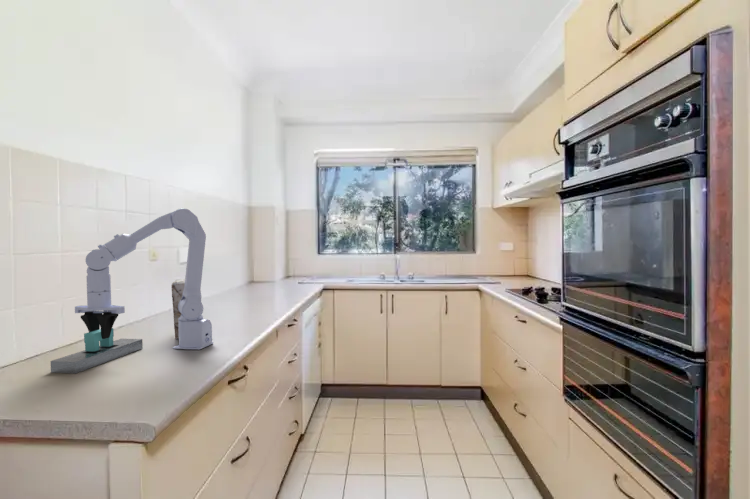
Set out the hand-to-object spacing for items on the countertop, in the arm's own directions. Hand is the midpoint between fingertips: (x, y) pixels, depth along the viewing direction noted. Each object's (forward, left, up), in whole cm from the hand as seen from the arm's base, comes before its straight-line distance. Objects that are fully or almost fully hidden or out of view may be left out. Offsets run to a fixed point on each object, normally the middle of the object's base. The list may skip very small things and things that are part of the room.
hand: (100, 338), depth 116 cm
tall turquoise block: (0, 0, -3) cm, 3 cm away
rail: (0, 0, -6) cm, 6 cm away
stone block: (-6, -30, -6) cm, 31 cm away
